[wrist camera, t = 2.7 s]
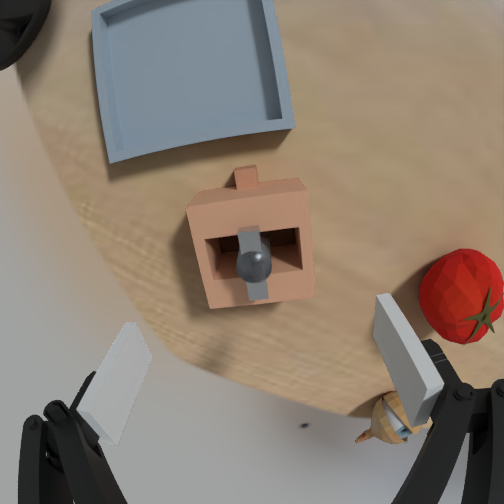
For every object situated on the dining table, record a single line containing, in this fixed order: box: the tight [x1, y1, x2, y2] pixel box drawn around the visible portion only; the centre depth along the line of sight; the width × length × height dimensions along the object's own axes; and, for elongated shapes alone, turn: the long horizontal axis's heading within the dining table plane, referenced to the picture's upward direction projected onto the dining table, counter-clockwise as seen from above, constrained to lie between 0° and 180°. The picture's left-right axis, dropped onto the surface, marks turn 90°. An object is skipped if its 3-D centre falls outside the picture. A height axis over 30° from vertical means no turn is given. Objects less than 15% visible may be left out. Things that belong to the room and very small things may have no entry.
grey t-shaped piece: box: [236, 225, 272, 301], centre depth 27 cm, size 3×6×8 cm, turn 8°
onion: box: [355, 391, 422, 444], centre depth 38 cm, size 9×9×15 cm
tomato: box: [419, 249, 504, 344], centre depth 28 cm, size 11×13×10 cm
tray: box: [92, 0, 295, 164], centre depth 23 cm, size 18×18×2 cm
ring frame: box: [186, 165, 316, 309], centre depth 28 cm, size 10×12×6 cm
